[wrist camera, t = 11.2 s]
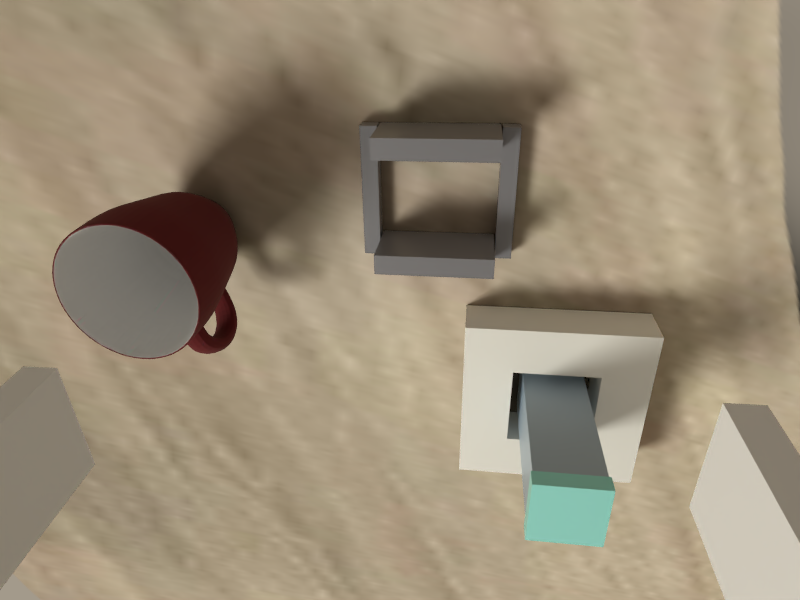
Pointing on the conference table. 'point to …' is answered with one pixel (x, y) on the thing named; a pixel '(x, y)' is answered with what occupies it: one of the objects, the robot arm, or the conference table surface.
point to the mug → (151, 276)
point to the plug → (562, 462)
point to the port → (556, 355)
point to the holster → (438, 144)
